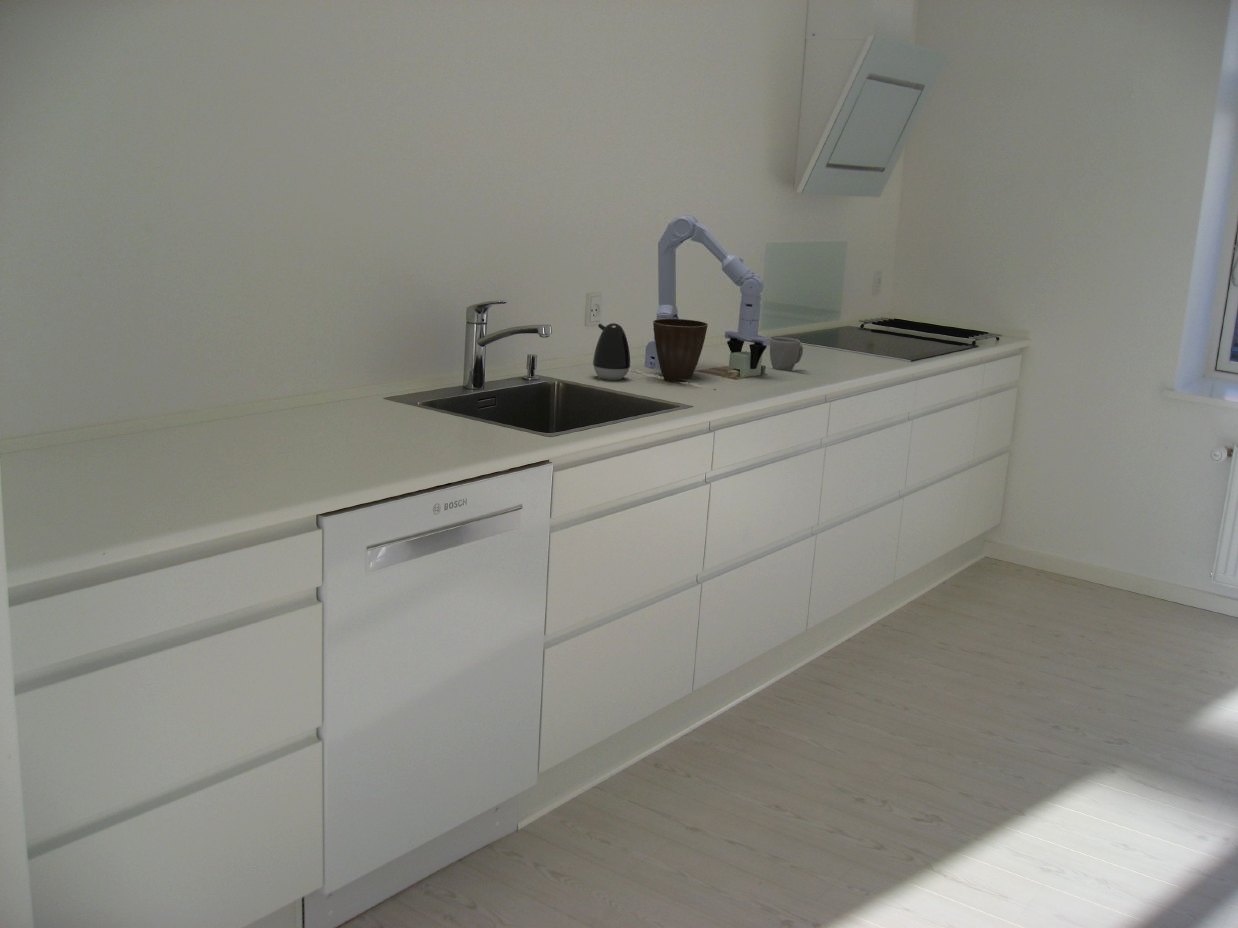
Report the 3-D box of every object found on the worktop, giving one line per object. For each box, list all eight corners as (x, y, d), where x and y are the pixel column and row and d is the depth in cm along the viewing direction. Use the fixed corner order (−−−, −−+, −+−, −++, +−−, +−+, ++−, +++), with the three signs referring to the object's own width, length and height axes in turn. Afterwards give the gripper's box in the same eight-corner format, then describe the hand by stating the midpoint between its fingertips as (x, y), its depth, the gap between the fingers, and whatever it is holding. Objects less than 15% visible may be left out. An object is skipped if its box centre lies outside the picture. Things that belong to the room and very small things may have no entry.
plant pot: (658, 385, 302) (662, 326, 298) (642, 374, 316) (646, 318, 312) (710, 385, 306) (715, 327, 302) (692, 375, 320) (697, 319, 316)
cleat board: (735, 383, 312) (736, 370, 311) (693, 374, 321) (694, 362, 320) (767, 378, 322) (768, 366, 321) (725, 369, 332) (726, 357, 331)
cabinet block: (743, 377, 315) (745, 356, 313) (728, 374, 319) (729, 353, 317) (760, 374, 321) (762, 354, 319) (744, 371, 324) (746, 351, 323)
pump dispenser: (607, 373, 314) (611, 319, 310) (636, 379, 308) (640, 324, 304) (583, 377, 306) (586, 322, 303) (613, 383, 300) (616, 327, 296)
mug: (782, 375, 328) (786, 342, 326) (761, 370, 335) (764, 338, 332) (810, 372, 336) (814, 340, 333) (789, 367, 342) (792, 336, 340)
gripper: (778, 322, 314) (773, 369, 317) (736, 315, 323) (732, 361, 327) (763, 323, 309) (759, 372, 312) (722, 316, 318) (718, 363, 322)
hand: (744, 367), depth 319 cm, fingers closed on cabinet block, 5 cm apart
